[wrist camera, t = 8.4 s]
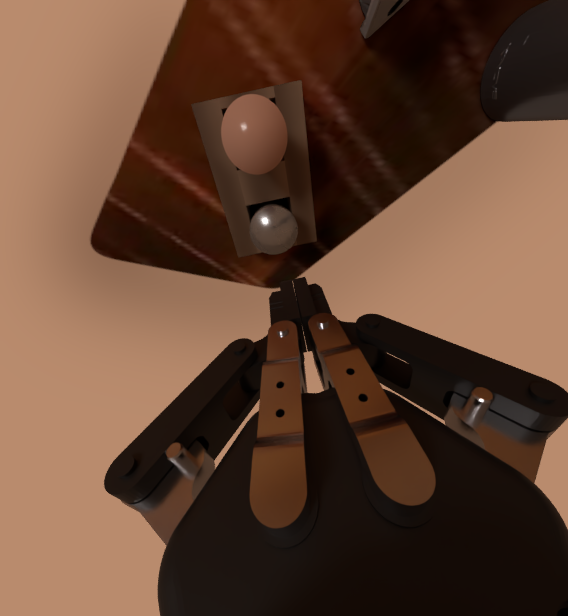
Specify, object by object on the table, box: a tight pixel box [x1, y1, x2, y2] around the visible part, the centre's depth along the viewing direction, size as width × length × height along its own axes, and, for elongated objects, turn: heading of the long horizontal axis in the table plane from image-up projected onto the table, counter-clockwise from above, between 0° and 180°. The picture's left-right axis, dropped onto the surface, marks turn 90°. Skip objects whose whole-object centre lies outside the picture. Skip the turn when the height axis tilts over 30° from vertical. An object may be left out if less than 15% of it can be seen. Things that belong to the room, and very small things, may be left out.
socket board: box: [191, 80, 317, 257], centre depth 28 cm, size 10×15×5 cm, turn 10°
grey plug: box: [250, 199, 298, 255], centre depth 29 cm, size 5×5×8 cm
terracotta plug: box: [221, 94, 288, 175], centre depth 22 cm, size 5×5×8 cm
